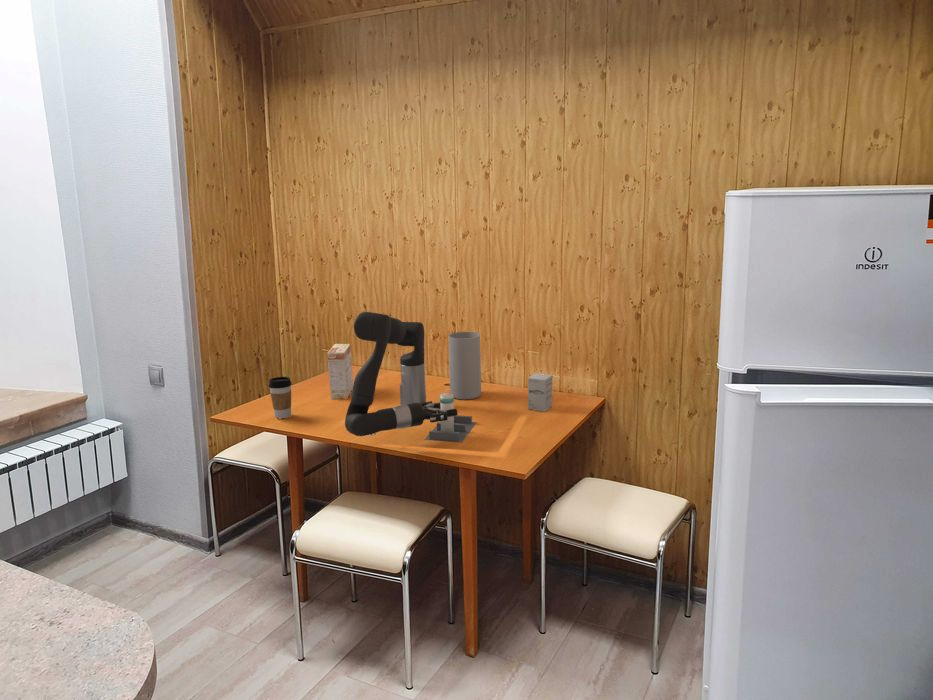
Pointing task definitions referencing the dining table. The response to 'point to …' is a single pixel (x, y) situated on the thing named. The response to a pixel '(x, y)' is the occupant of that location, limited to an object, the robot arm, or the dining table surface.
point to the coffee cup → (281, 396)
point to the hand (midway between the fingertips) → (451, 408)
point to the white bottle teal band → (447, 404)
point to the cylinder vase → (465, 365)
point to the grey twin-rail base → (460, 430)
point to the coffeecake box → (340, 371)
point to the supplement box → (540, 392)
